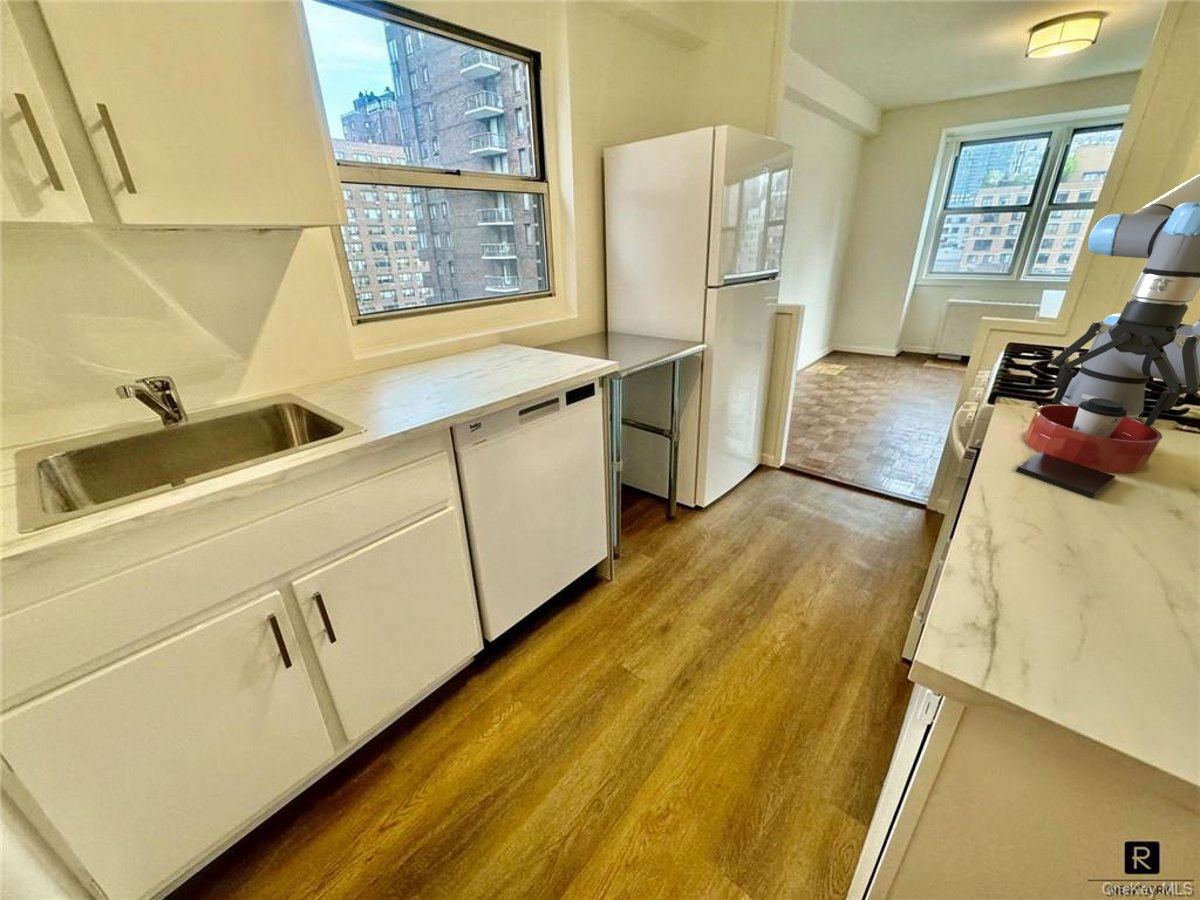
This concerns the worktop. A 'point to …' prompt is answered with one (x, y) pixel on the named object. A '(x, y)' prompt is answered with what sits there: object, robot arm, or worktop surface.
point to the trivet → (1066, 474)
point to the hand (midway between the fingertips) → (1099, 413)
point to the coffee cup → (1098, 417)
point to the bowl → (1092, 441)
